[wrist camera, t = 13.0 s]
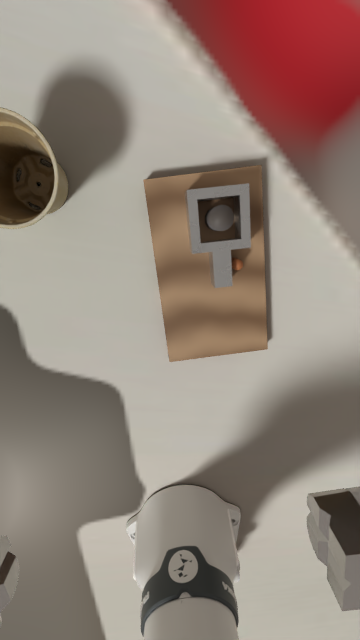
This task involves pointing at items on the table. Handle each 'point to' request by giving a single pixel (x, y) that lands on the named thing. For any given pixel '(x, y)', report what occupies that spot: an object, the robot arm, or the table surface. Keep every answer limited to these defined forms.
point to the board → (208, 267)
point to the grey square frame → (222, 248)
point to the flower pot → (27, 173)
